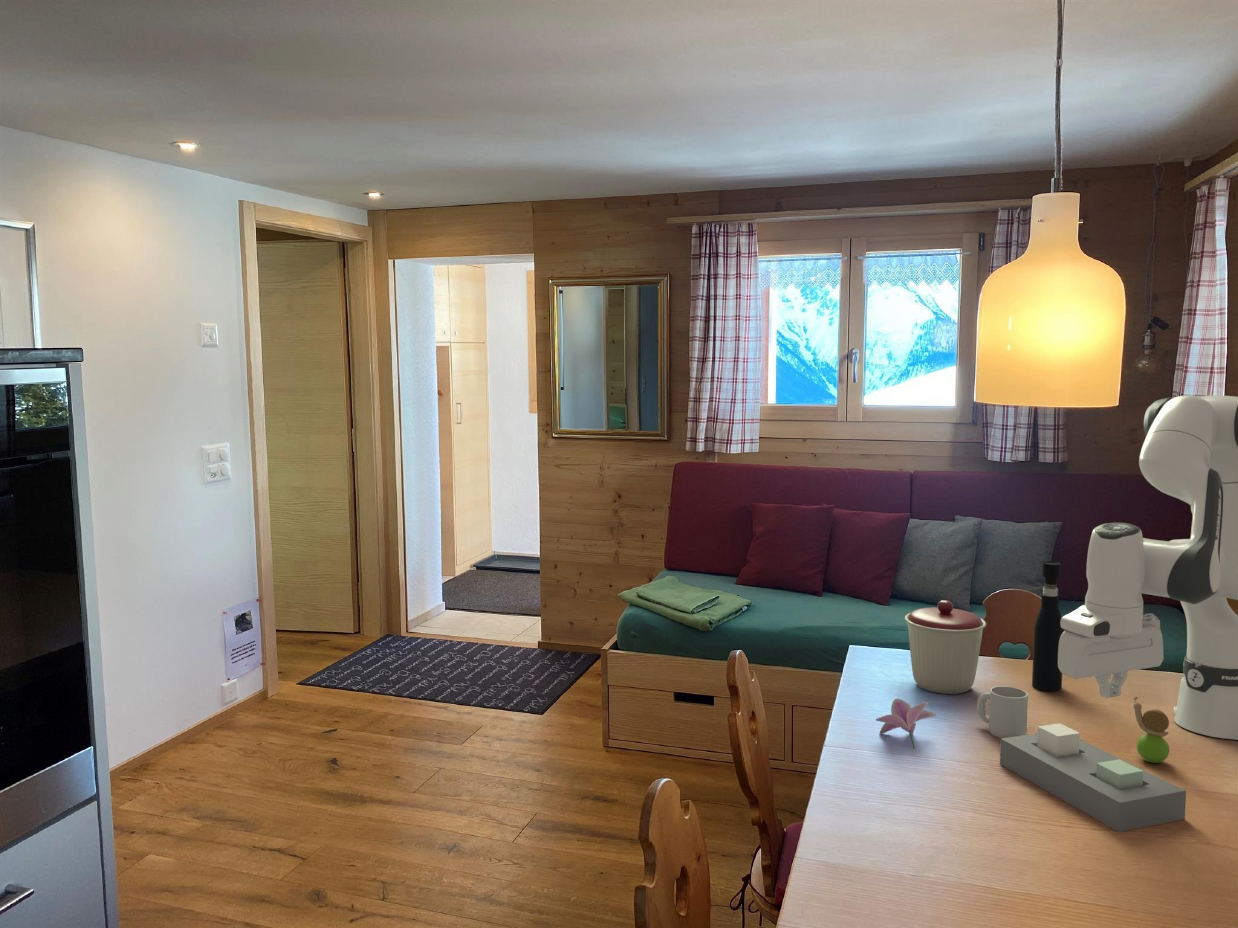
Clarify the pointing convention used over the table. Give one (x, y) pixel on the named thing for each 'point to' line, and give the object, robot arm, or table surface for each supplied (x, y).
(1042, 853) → the table surface
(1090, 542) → the robot arm
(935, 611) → the canister
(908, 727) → the lily
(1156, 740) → the snail figurine
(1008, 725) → the cup
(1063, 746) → the white key
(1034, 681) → the wine bottle
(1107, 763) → the pale green cube
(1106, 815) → the key console
